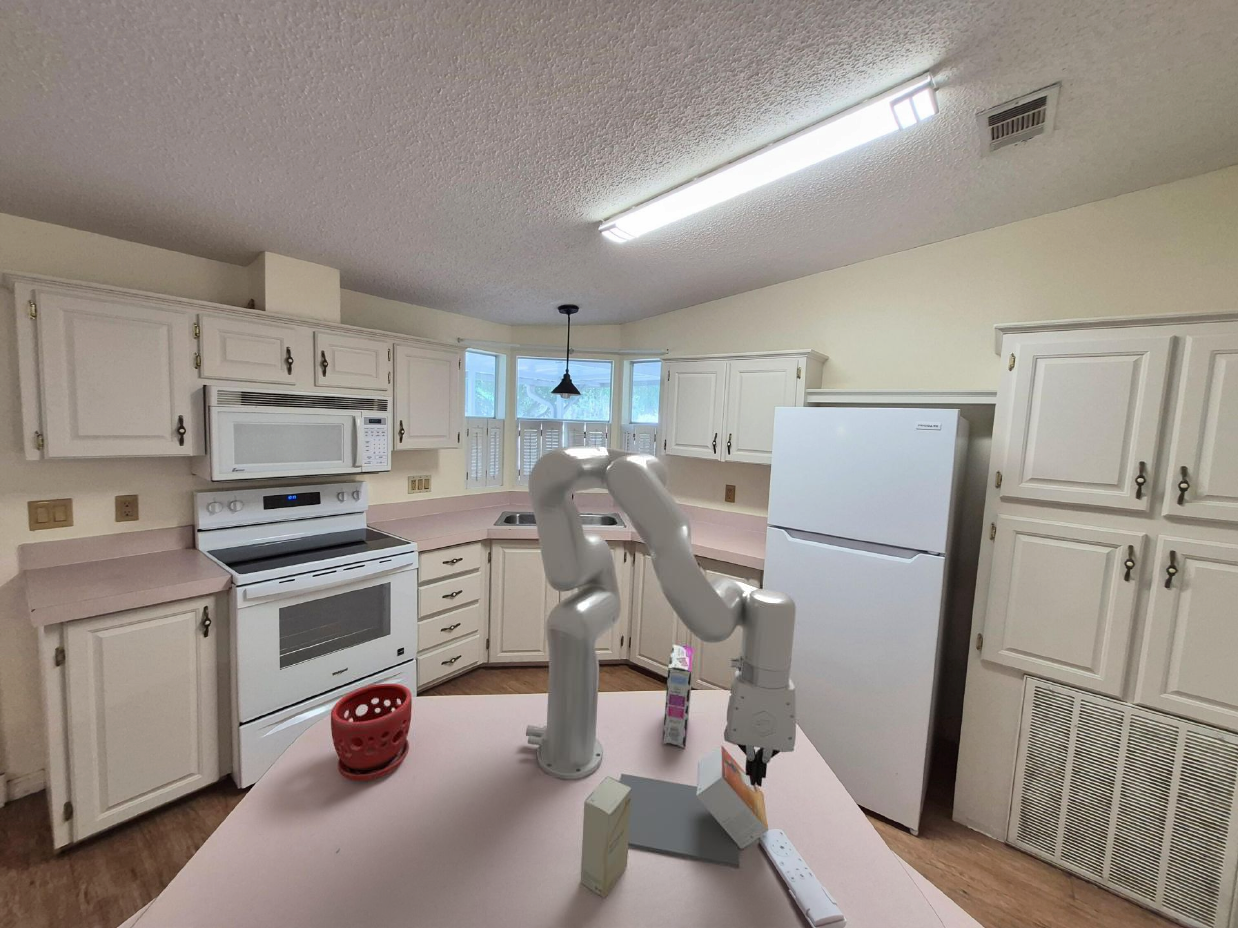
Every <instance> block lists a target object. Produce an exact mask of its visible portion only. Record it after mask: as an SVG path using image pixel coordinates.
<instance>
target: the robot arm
mask: <svg viewBox="0 0 1238 928" xmlns="http://www.w3.org/2000/svg"><path fill="white" fill-rule="evenodd" d="M667 481H668V472H667V469H666V467H665V465H664V463H663V462H662V461H661V460H660V459H659V458H657V457H656V456H654V455H651V454H648V453H643V452H636V451H630V450H629V451H628V450H623V449H619V448H618V449H617V448H612V447H611V448H610V447H606V446H599V445H583V446H582V445H580V446H579V445H577V446H576V445H574V446H573V445H572V446H570V445H569V446H562V447H558V448H554V449H551V450H550V451H547V452H546V453H544V454H543V455H541V457H539V458H538V460H537V461H535V463H534V465H533V467H532V468H531V471H530V473H529V477H528V495H529V500H530V504H531V507H532V511H533V516H534V520H535V522H536V523H535V524H536V529H537V536H538V537H537V538H538V542H539V547H540V548H539V549H540V554H541V560H542V565H543V571H544V574H545V579H546V581H547V583H548V585H549V586H550V587H551V588H552V589H553V590H555V591H558V592H563V593H564V592H570V591H572V590H575V589H577V592H574V593H572V594H571V595H568V597H566V598H563V600H561V601H560V602H558V603H557V604H556V605H555V606H554V607H552V609H551V611H550V613H549V614H548V615H547V616H548V617H547V619H546V621H545V634H546V635H545V636H546V641H547V647H548V687H547V688H548V690H547V709H546V710H547V715H546V725H544V726H542V727H541V726H540V727H539V726H535V725H532V724H531V725H529V724H528V725H526V731H525V736H526V737H527V744H529V745H537V746H538V748H537V753H536V755H537V756H536V757H537V763H538V765H539V767H540V768H541V769H542V771H544V772H545V773H546V774H548V775H550V776H551V777H555V778H557V779H561V780H562V779H564V780H575V779H580V778H584V777H586V776H589V775H591V774H592V773H593V772H595V771H596V770H597V769H598V768H599V767H600V765H601V763H602V761H603V753H604V750H603V746H602V744H601V742H600V741H599V739H598V738H597V736H596V735H597V717H598V699H599V698H598V697H599V681H600V679H599V678H600V677H599V676H600V664H599V658H598V654H597V652H596V642H597V641H598V639H599V638H600V637H602V636H603V635H604V634H605V633H606V632H607V631H609V630H610V629H611V628H612V627H614V625H615V624H617V622H618V620H619V618H620V615H621V611H622V610H621V609H622V603H621V602H622V601H621V595H620V590H619V585H618V578H617V577H618V576H617V573H616V567H615V561H614V556H613V553H612V549H611V547H610V546H609V544H608V543H607V541H606V540H605V539H604V538H603V537H602V536H601V535H599V534H597V533H596V532H591V531H587V532H586V531H585V532H584V528H583V523H582V517H581V513H580V510H579V508H578V506H577V505H576V502H575V501H574V500H573V498H572V495H573V494H574V493H576V492H582V491H588V490H594V489H601V490H602V489H603V490H607V492H608V494H609V495H610V496H611V498H612V500H613V501H614V503H616V505H617V506H618V507H619V509H620V511H621V512H622V514H623V515H624V516H625V517H626V519H627V521H629V522H628V523H630V525H631V526H632V527H633V529H634V530H635V532H636V533H637V534H638V536H639V537H640V539H641V540H642V541H643V543H644V544H645V546H646V547H647V549H648V551H649V555H650V559H651V564H652V567H653V570H654V573H655V576H656V579H657V583H658V584H659V587H660V589H661V592H662V593H663V596H664V597H665V599H666V601H667V603H669V606H671V608H672V609H673V611H674V612H675V614H676V615H677V617H678V618H679V620H680V621H681V622H682V624H684V626H685V628H686V629H687V630H689V632H691V634H692V635H693V636H695V637H696V638H698V639H699V640H700V641H703V642H705V643H708V644H718V643H722V642H725V641H726V640H728V639H729V638H730V637H731V636H732V634H733V633H734V632H735V631H736V628H737V627H741V629H742V638H741V652H739V656H738V658H737V657H736V658H730V668H734V669H736V670H735V673H734V676H733V679H732V682H731V686H730V692H729V697H728V703H727V711H726V722H727V724H726V725H725V729H724V732H723V739H724V741H725V742H727V743H730V744H731V745H734V746H738V748H739V749H740V751H742V753H743V754H744V755H745V756H746V757H745V769H744V771H745V773H746V775H748V776H749V777H750V783H751V785H756V786H757V787H762V783H763V779H766V777H767V770H768V769H767V768H768V764H769V763H770V762H771V759H772V758H774V757H775V756H776V755H777V756H778V754H779V753H790V752H791V753H792V752H794V751H795V748H794V747H795V745H796V740H797V739H796V736H797V735H796V734H797V699H796V697H797V696H796V688H795V684H794V683H793V681H792V679H791V678H790V677H791V665H792V655H793V645H794V636H795V635H794V634H795V622H796V613H797V612H796V611H797V610H796V609H797V607H796V603H795V601H794V599H793V598H792V597H791V596H790V595H788V594H786V593H784V592H782V591H778V590H775V589H768V588H757V587H755V586H753V585H749V584H747V583H744V582H741V581H738V580H737V579H734V578H728V577H718V578H714V579H712V580H711V581H710V582H709V580H708V578H707V577H706V575H705V574H704V572H703V571H702V570H701V567H700V566H699V563H698V561H697V560H696V557H695V555H694V552H693V546H692V540H691V539H692V537H691V536H692V535H691V534H692V533H691V531H692V528H691V527H692V526H691V522H690V520H689V519H690V518H689V517H688V516H687V515H686V513H685V512H684V511H683V510H682V508H681V507H680V506H679V504H678V503H677V502H676V501H675V499H674V498H673V496H672V495H671V494H670V493H669V491H668V489H666V486H667ZM755 748H759V749H757V750H756V749H755Z"/></svg>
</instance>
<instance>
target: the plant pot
mask: <svg viewBox="0 0 1238 928" xmlns="http://www.w3.org/2000/svg"><path fill="white" fill-rule="evenodd" d="M374 699H378V701H377V702H376V703H373V702H372V700H374ZM398 700H399V701H400V703H399V702H398ZM386 701H389V705H386V704H385V702H386ZM412 701H413V698H412V693H411V691H410V689H409V688H408V687H406V686H404V685H403V684H402V685H401V684H398V683H378V684H372V685H368V686H364V687H362V688H358V689H356V690H354V691H352V692H349V693H347V694H346V695H345V696H343V697H342V698H340V699H339V700H338V701H337V702H336V703H335V704H334V705H333V707H332V709H331V712H330V730H331V731H330V732H331V738H332V743H333V746H334V749H335V752H336V754H337V756H338V757H339V758H338V760H337V769H338V772H339V773H340V775H342V776H343V777H344V778H346V779H348V780H351V781H356V782H361V781H362V782H365V781H366V782H367V781H370V780H375V779H378V778H381V777H383V776H385V775H387V774H390V773H391V772H393V771H394V770H395V769H397V768H398V766H400V765H401V764H402V763H403V762H404V760H405V758H406V757H407V755H408V753H409V749H410V742H409V740H408V739H407V738H408V736H409V731H410V725H411V721H412V708H413V706H412V705H413V704H412V703H413V702H412ZM363 705H365V706H367V710H366V712H365V713H363V714H361V715H358V714H357V712H356V711H357V709H358V708H359V707H360V706H363ZM376 709H379V711H378V712H376ZM393 709H394V711H393ZM347 712H348V714H347V715H346V717H345V714H346V713H347ZM351 719H352V721H350V720H351Z"/></svg>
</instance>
